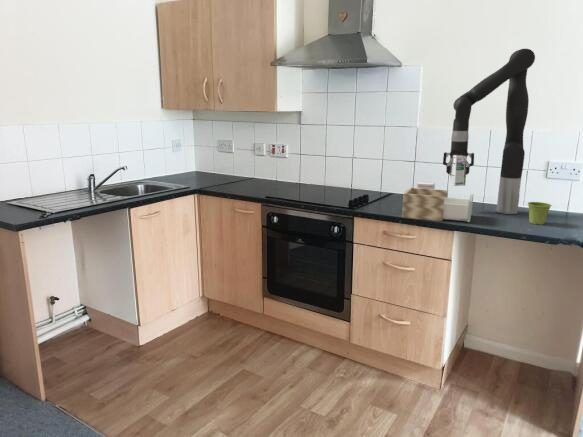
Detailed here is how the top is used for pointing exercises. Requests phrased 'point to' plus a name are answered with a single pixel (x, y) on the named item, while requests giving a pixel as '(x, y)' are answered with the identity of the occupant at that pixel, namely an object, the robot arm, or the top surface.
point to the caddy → (424, 204)
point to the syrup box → (457, 171)
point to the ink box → (426, 185)
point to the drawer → (458, 208)
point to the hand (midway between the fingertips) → (457, 174)
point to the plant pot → (538, 212)
